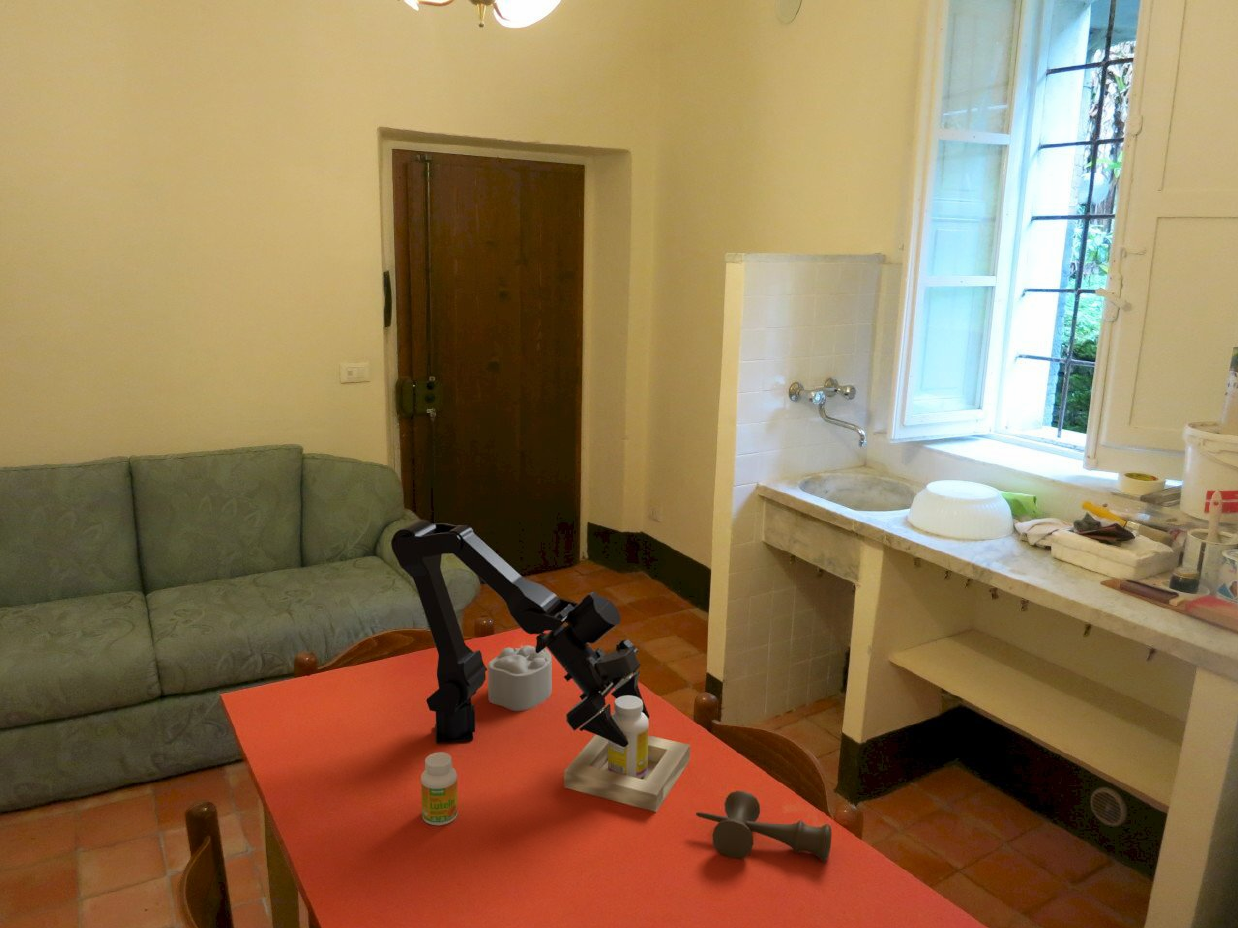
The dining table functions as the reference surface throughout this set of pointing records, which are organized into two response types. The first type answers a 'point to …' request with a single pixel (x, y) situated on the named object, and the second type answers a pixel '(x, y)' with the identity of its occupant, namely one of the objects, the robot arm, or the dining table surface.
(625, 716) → the supplement bottle
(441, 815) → the supplement bottle
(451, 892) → the dining table surface
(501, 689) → the lumpy-topped squat cylinder
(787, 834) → the kendama
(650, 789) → the birch well block
